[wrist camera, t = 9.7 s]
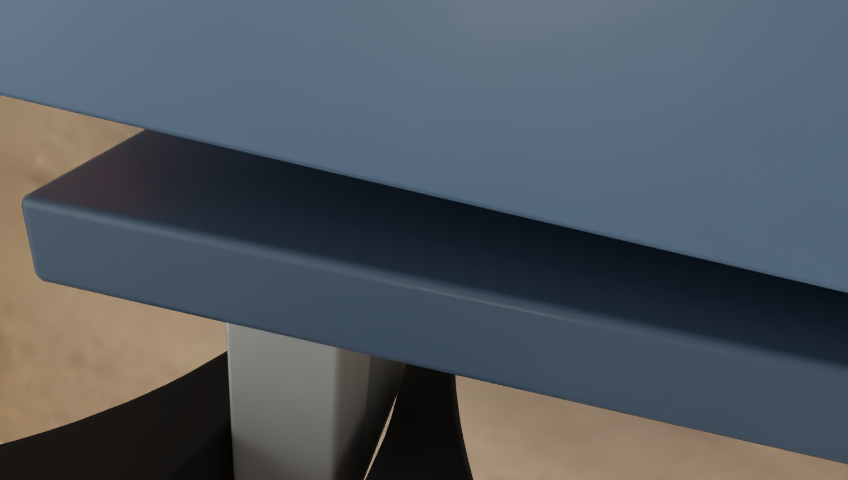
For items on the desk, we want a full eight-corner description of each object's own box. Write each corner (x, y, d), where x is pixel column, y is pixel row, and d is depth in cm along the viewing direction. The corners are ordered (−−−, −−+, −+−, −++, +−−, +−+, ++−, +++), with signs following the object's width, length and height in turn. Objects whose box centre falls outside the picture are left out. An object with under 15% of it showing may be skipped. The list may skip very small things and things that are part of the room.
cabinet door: (959, 412, 14) (1408, 1075, 6) (350, 282, 16) (115, 666, 8) (1149, 122, 11) (2485, 715, 3) (366, 5, 13) (14, 197, 5)
